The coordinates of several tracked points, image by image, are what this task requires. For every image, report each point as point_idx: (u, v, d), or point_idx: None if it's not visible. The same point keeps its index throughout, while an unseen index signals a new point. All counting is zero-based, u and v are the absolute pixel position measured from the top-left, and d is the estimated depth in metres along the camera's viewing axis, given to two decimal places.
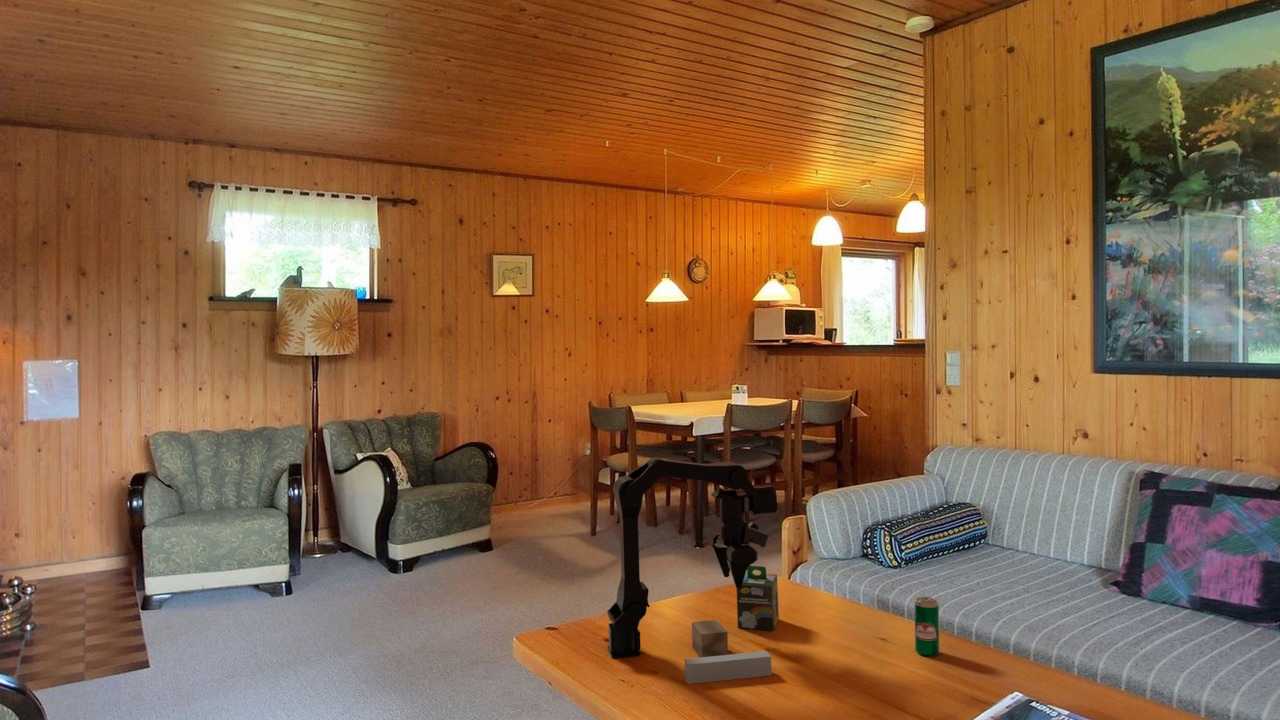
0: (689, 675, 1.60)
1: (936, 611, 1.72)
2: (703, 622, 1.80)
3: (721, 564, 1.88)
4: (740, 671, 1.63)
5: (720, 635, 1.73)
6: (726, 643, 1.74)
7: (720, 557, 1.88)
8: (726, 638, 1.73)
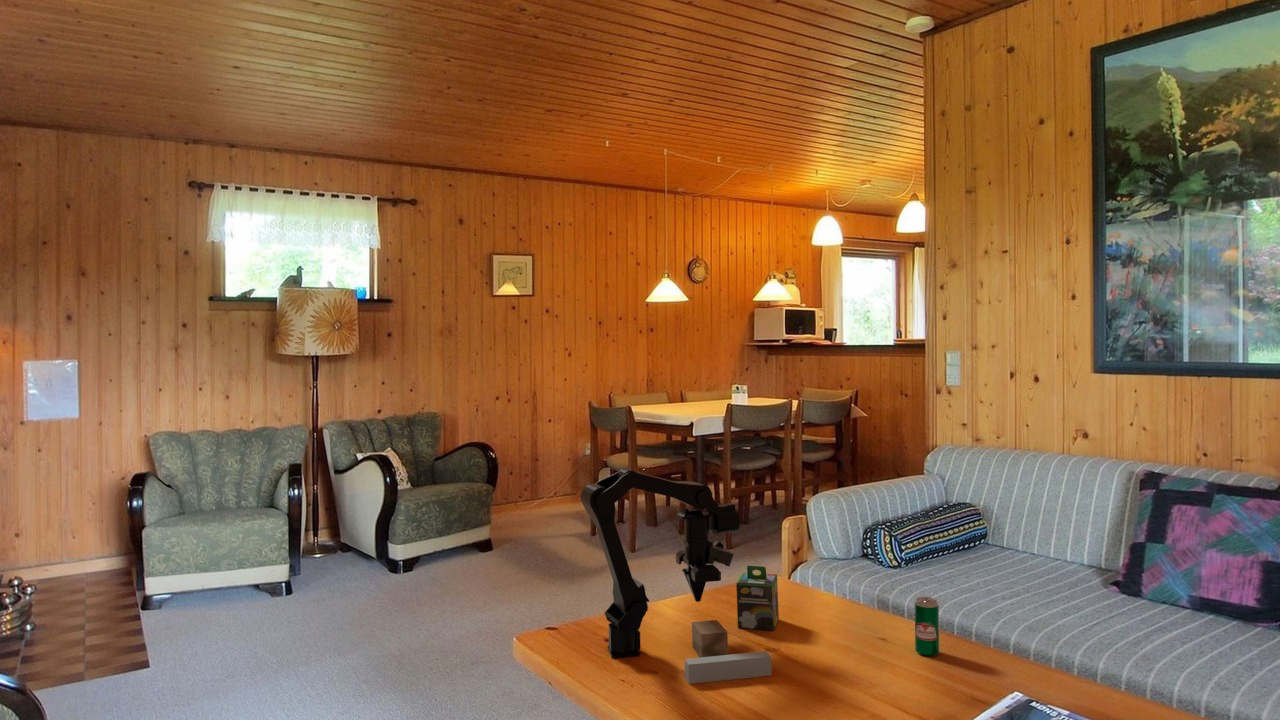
0: (689, 675, 1.60)
1: (936, 611, 1.72)
2: (703, 622, 1.80)
3: (692, 588, 1.86)
4: (740, 671, 1.63)
5: (720, 635, 1.73)
6: (726, 643, 1.73)
7: None
8: (726, 638, 1.73)
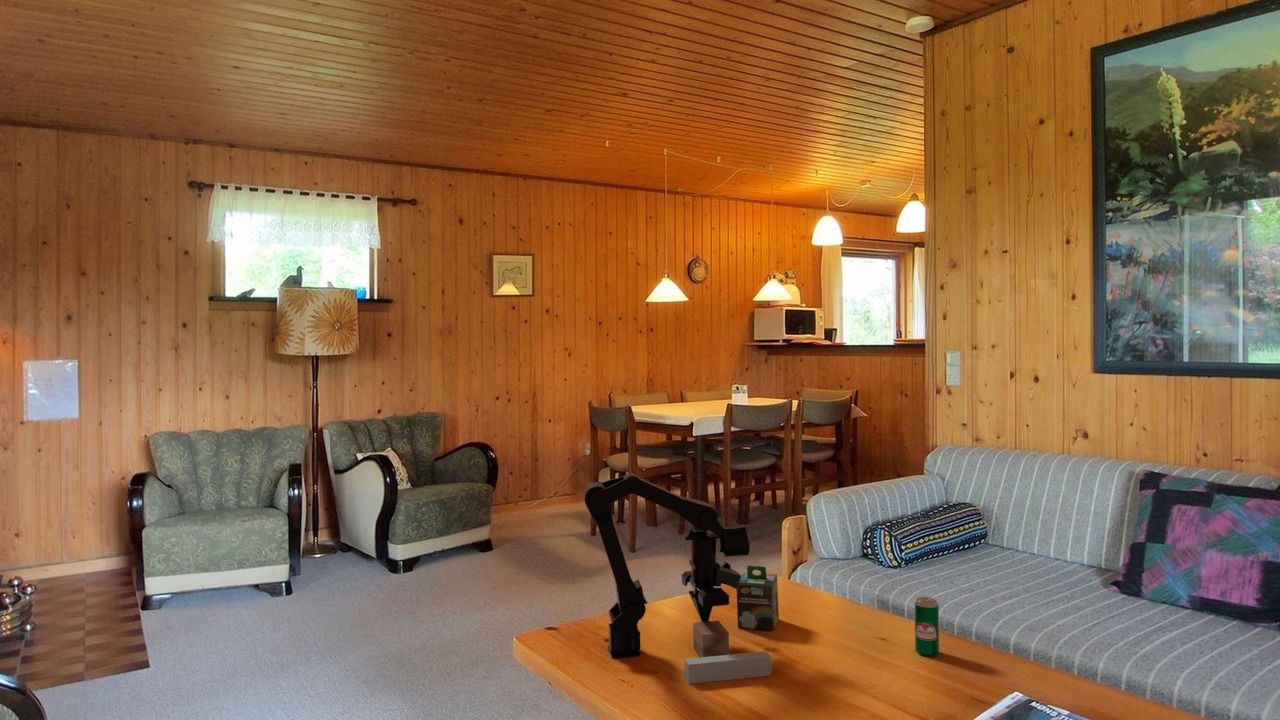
0: (689, 675, 1.60)
1: (936, 611, 1.72)
2: (704, 623, 1.79)
3: None
4: (740, 671, 1.63)
5: (721, 635, 1.72)
6: (727, 644, 1.73)
7: None
8: (727, 639, 1.73)
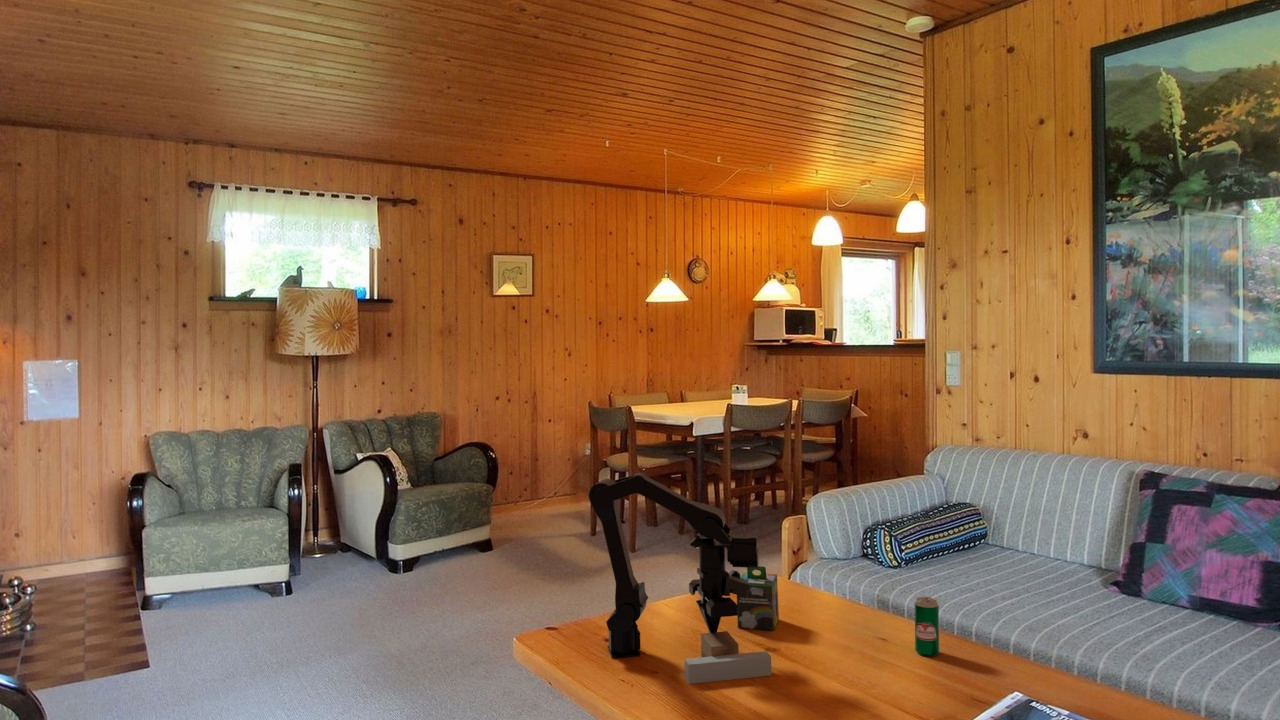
0: (689, 675, 1.60)
1: (936, 611, 1.72)
2: (712, 634, 1.72)
3: None
4: (740, 671, 1.63)
5: (731, 647, 1.65)
6: None
7: None
8: (737, 651, 1.66)
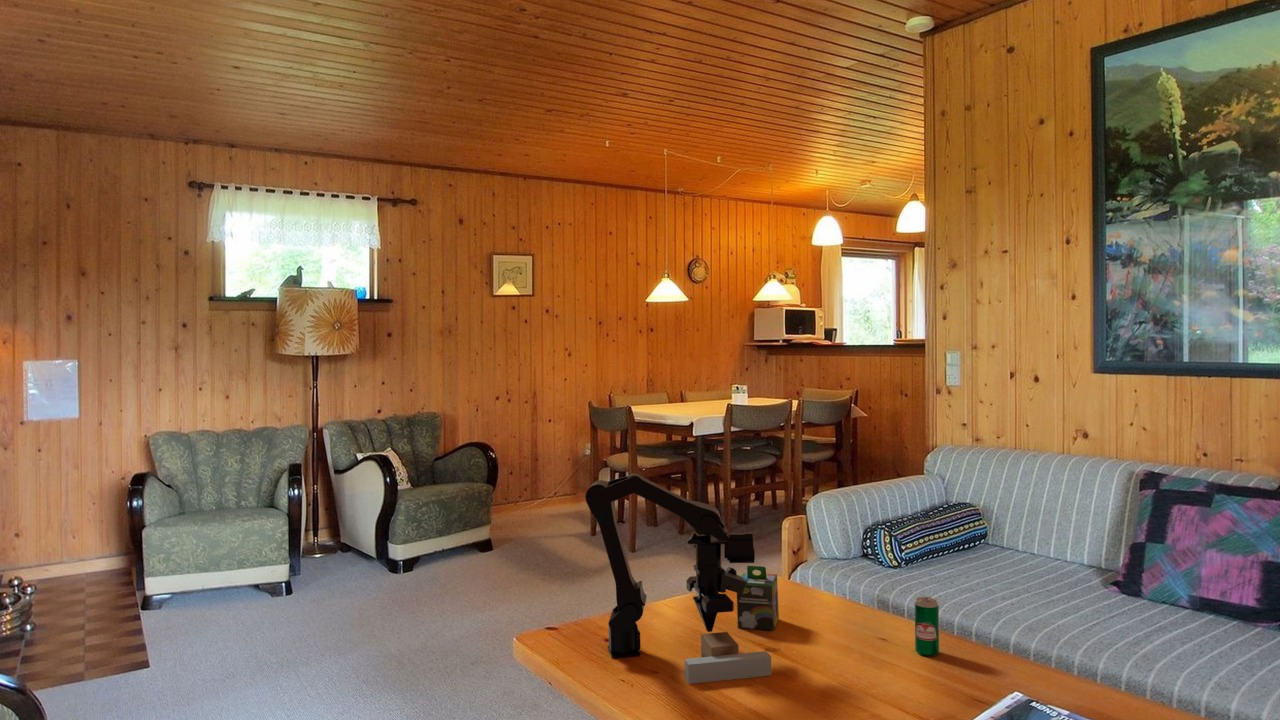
0: (689, 675, 1.60)
1: (936, 611, 1.72)
2: (712, 634, 1.72)
3: None
4: (740, 671, 1.63)
5: (731, 648, 1.65)
6: None
7: None
8: (737, 651, 1.66)
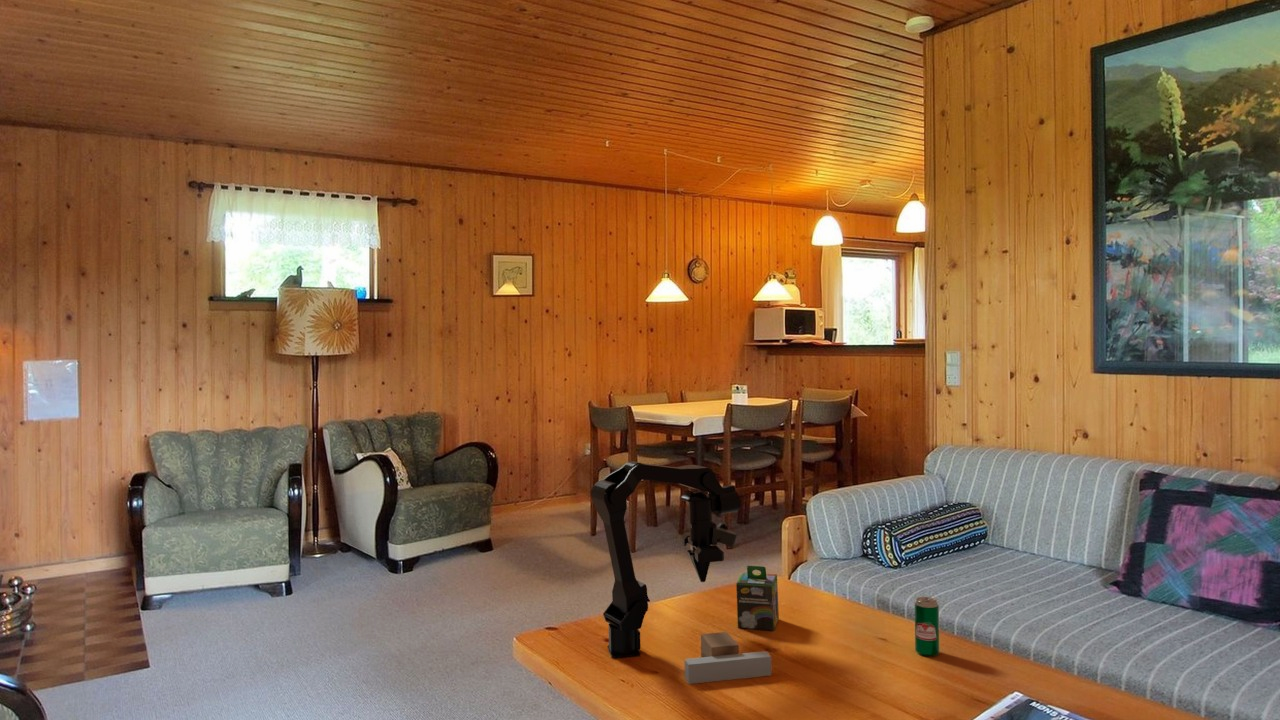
0: (689, 675, 1.60)
1: (936, 611, 1.72)
2: (712, 634, 1.72)
3: None
4: (740, 671, 1.63)
5: (731, 648, 1.66)
6: None
7: None
8: (737, 651, 1.66)
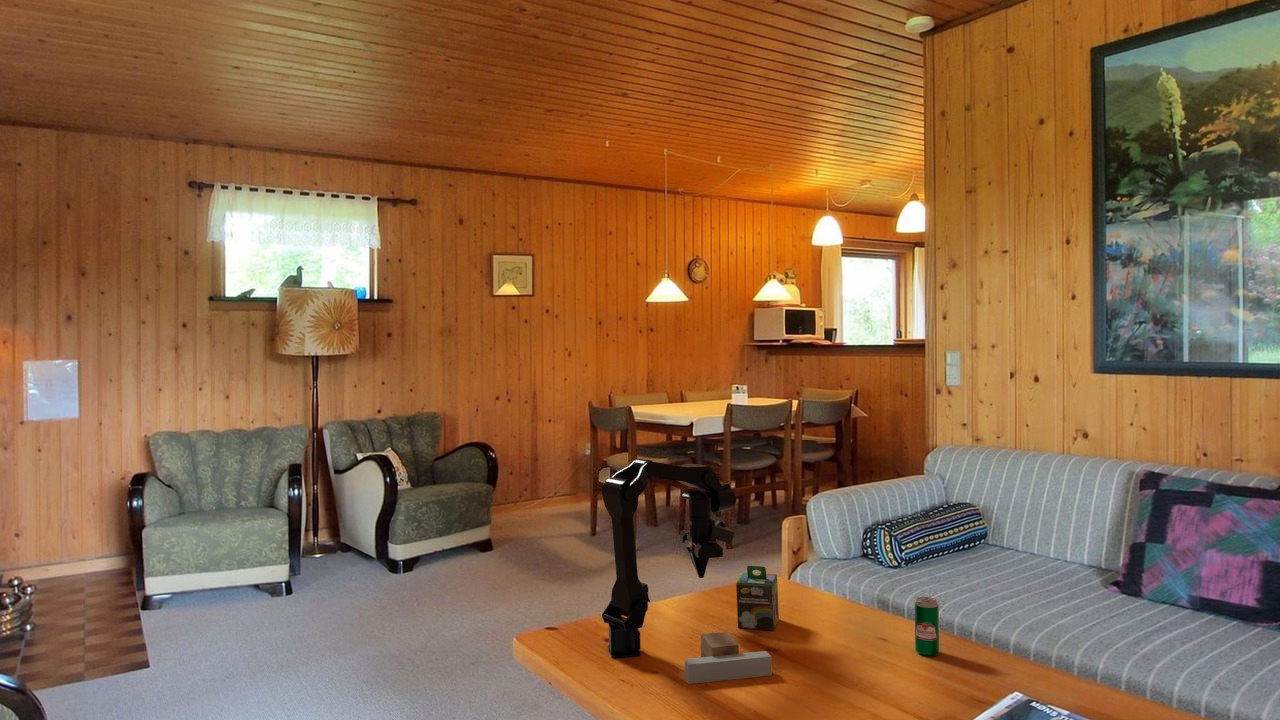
0: (689, 675, 1.60)
1: (936, 611, 1.72)
2: (712, 634, 1.72)
3: None
4: (740, 671, 1.63)
5: (731, 648, 1.66)
6: None
7: None
8: (737, 651, 1.66)
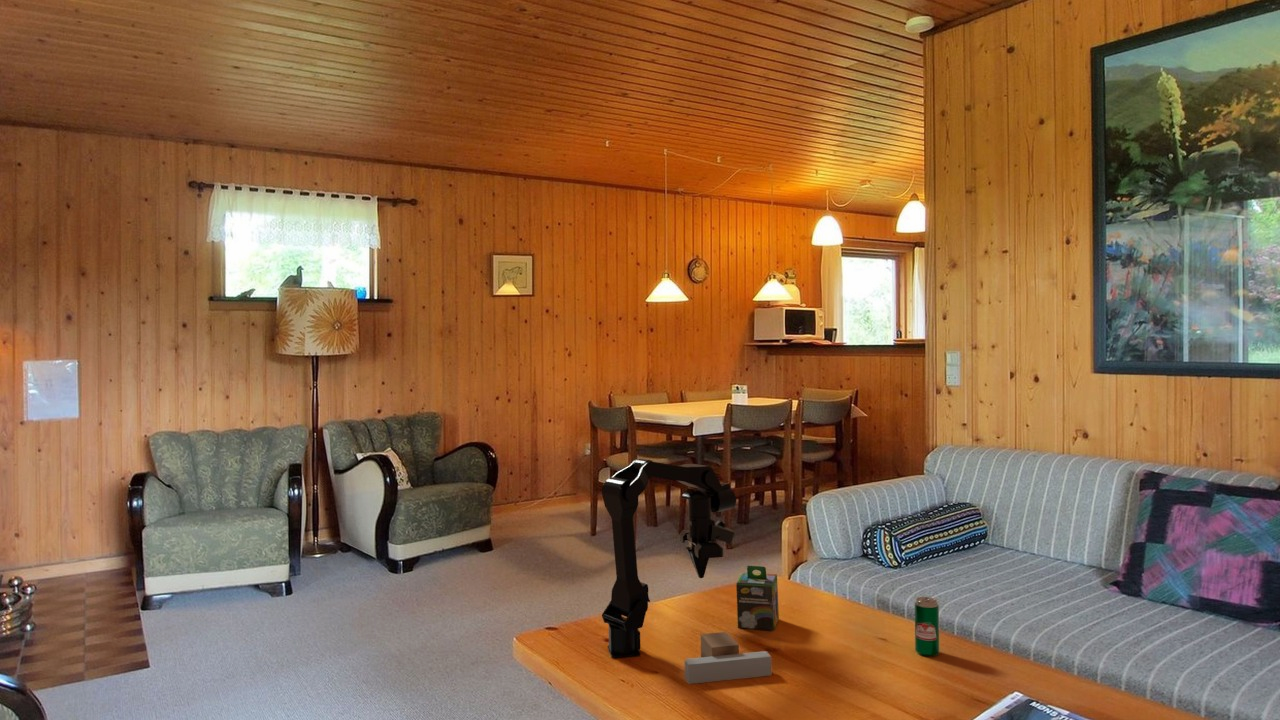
0: (689, 675, 1.60)
1: (936, 611, 1.72)
2: (712, 634, 1.72)
3: None
4: (740, 671, 1.63)
5: (731, 648, 1.66)
6: None
7: None
8: (737, 651, 1.66)
